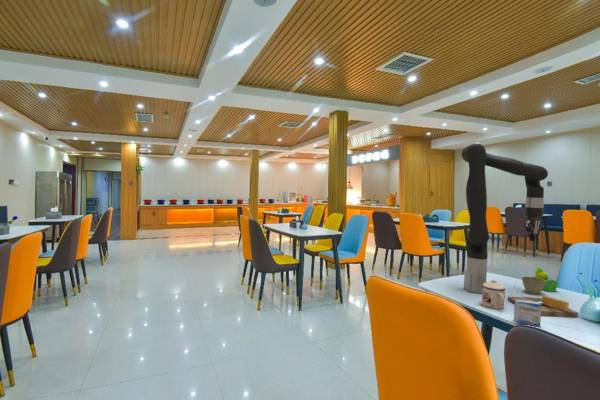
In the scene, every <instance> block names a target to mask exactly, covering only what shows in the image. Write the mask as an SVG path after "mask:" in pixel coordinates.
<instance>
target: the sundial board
mask: <svg viewBox="0 0 600 400" xmlns="http://www.w3.org/2000/svg"><path fill="white" fill-rule="evenodd" d="M542 298H543V297H532V296H531V297H529V296H507V302H508V303H511V304H513V305H514V306H515V299H521V300H529V301H534V299H540V300H542ZM541 317H558V318H559V317H560V318H579V312H578V311H576V310H573V309H571V308H569V309H568V311H564V310H561V309H558V308H554V307H551V306H548V305H541Z"/></svg>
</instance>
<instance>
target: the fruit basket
mask: <svg viewBox="0 0 600 400" xmlns="http://www.w3.org/2000/svg"><path fill="white" fill-rule="evenodd" d="M534 272H535V273H534V274H535V275H533V276H532V277H536V278H541V279H544V280H546V283H545V286H544V288H543V290H542V291H544V292H553V293H554V292H556V290H557V289H558V287H559V284H560V282H559V281H556V280H554V279H552V278H550V277H548V275H549V273H548V272H546V271H545V270H544V269H543V268H541V267H536V269H535V270H534Z"/></svg>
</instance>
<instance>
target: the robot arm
mask: <svg viewBox="0 0 600 400" xmlns="http://www.w3.org/2000/svg"><path fill="white" fill-rule="evenodd" d="M461 158H462V159H463V161H464V162H466V163H468V171H469V172H468V178H467V181H466V186H465V196H466V197H465V199H466V200H465V201H466V206H467V210H468V215H469V230H468V231H467V236H466V237H467V241H466V243H467V244H466V268H465V269H466V270H464V274H463V275H464V276H463V278H464V279H463V289H464V290H466V291H467V292H470V293H476V294H482V290H483V286H482V285H483V283H487V273H488V271H487V270H488V255H489V253H488V242H489V239H490V234H489V229H488V223H487V210H488V209H487V208H488V203H487V202H488V197H487V182H486V181H487V180H486V167H490V168H493V169H497V170H500V171H503V172H505V173H509V174H512V175H516V176H519V177H521V176H522V177H524V182H525V186H526V187H525V188H526V193H525V194H526V197H525V205H524V206H525V207H524V216H525V217H527V219H526V222H524V223H523V225H524V228H525V230H526V233H529V242H536V241H537V234H538V233H540V230H541V229H542V226H543V222H541V218H540V217H544V209H545V208H544V207H545V203H544V202H545V201H544V200H545V199H544V195H545V189H544V187H543V186H541V181H543V180H546V179H547V177H548V176H549V171H548V170H547V168H545V167H543V166H541V165H537V164H532V163H527V162H523V161H520V160H517V159H515V158H511V157H508V156H507V157H506V156H500V155H496V154H495V155H494V154H491V153H487V152H486V148H485V146H484V145H482V144H481V143H472V144H470V145H468V146H466V147H464V148H463V150H462V151H461Z"/></svg>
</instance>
